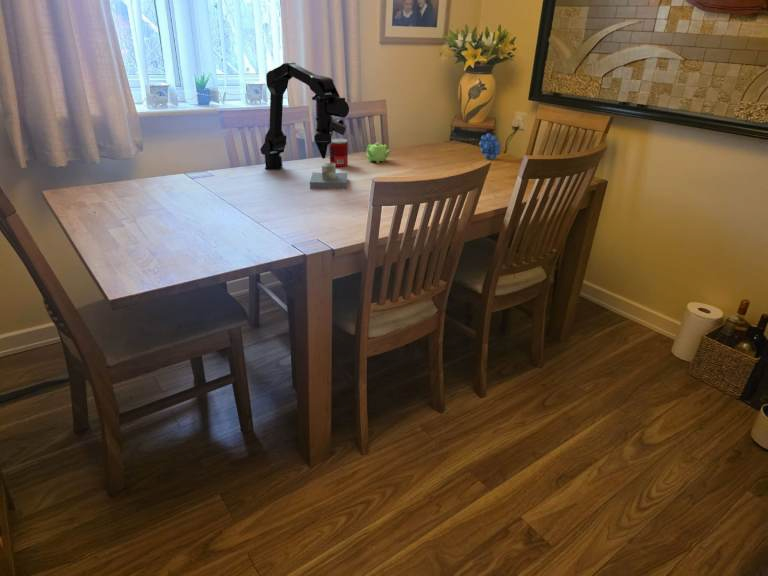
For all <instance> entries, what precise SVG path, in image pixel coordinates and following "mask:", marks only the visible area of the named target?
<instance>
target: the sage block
mask: <svg viewBox="0 0 768 576" xmlns="http://www.w3.org/2000/svg"><path fill="white" fill-rule="evenodd" d="M321 165H322V166H321V173H322V179H335V177H336V173H337V171H336V168H337V167H336V163H330V162H322V164H321Z"/></svg>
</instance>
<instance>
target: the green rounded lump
mask: <svg viewBox="0 0 768 576" xmlns="http://www.w3.org/2000/svg"><path fill="white" fill-rule="evenodd" d="M387 148H388V145H387V144H380V142H374V144H368V145H367V147H366V150H365V151H366V158H367V159H368V161H369V163H372V162H375V164H380V163H381V162H383V163H384V162H386V160H387V158H388V156H389V155H390V153H391V152H392V149H391V148H389V149H388V150H387Z"/></svg>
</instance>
